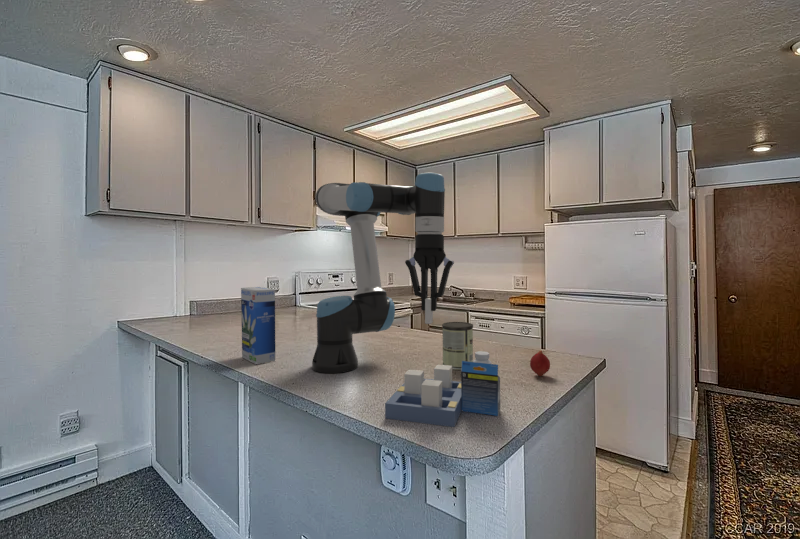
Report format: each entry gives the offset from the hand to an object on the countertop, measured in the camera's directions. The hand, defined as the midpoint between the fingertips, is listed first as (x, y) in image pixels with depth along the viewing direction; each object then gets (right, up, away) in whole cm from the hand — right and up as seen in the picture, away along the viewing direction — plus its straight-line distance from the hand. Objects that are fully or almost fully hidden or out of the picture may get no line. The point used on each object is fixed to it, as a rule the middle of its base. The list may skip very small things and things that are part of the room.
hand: (428, 322), depth 104 cm
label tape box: (+12, -20, -10) cm, 25 cm away
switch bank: (0, -20, -7) cm, 21 cm away
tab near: (0, -18, -14) cm, 23 cm away
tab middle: (-4, -18, -6) cm, 19 cm away
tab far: (+4, -17, -2) cm, 18 cm away
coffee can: (+12, -19, +28) cm, 35 cm away
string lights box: (-59, -19, +38) cm, 72 cm away
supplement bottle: (+16, -19, +7) cm, 26 cm away
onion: (+35, -19, +16) cm, 43 cm away
